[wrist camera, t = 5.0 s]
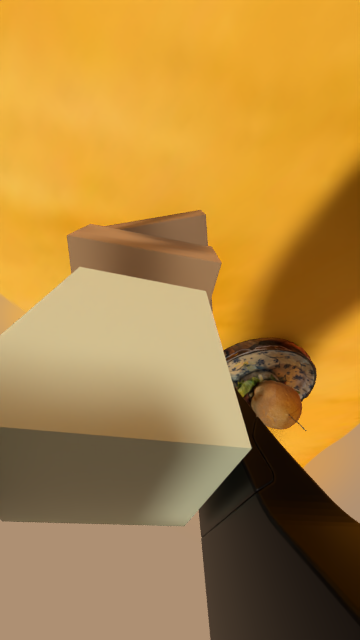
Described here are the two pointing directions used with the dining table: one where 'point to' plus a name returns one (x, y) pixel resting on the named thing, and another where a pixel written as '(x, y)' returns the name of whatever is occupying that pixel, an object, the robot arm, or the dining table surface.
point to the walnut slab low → (172, 228)
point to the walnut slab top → (144, 257)
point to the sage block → (115, 405)
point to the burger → (272, 378)
